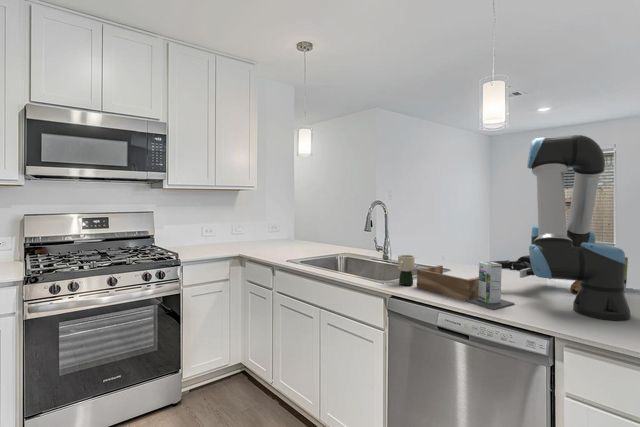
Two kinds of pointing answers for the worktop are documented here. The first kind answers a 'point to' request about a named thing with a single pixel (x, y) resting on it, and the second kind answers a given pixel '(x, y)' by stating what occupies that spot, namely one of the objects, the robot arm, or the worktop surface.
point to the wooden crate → (447, 283)
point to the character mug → (406, 269)
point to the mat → (491, 304)
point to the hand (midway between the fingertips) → (502, 270)
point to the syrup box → (489, 282)
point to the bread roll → (575, 287)
